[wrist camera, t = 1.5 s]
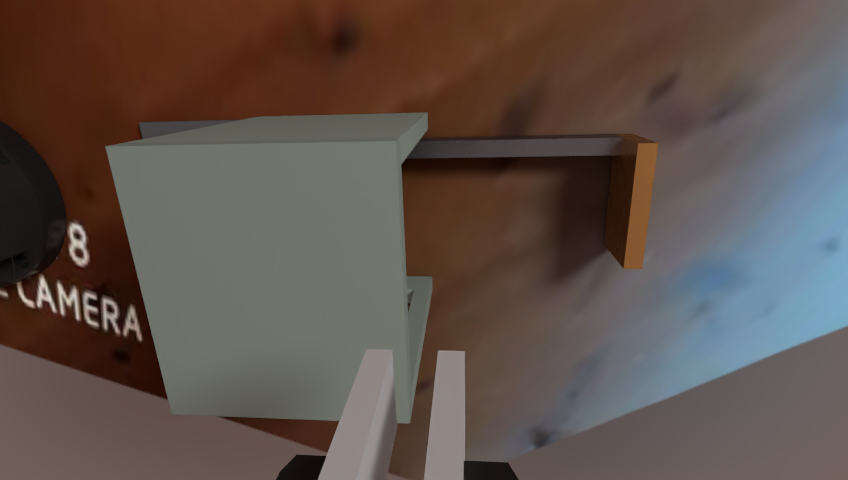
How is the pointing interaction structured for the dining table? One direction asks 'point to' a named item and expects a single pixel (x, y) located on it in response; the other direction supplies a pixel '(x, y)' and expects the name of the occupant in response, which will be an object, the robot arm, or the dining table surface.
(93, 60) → the dining table surface
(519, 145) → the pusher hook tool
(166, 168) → the tunnel
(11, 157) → the robot arm
